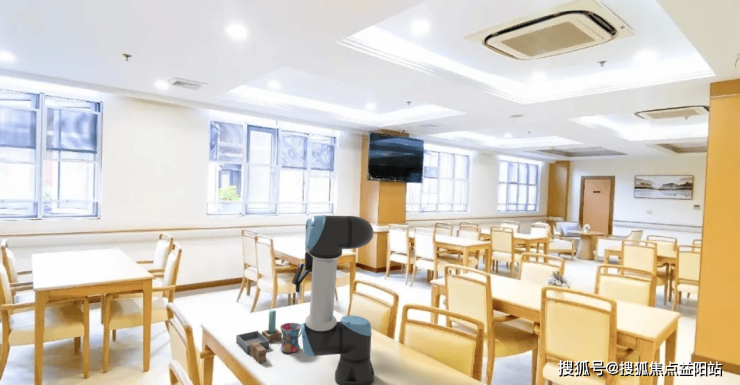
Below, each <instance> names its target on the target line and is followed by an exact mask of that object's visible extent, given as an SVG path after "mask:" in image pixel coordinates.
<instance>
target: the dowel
mask: <svg viewBox="0 0 740 385" xmlns="http://www.w3.org/2000/svg"><path fill="white" fill-rule="evenodd" d="M276 314H277V310H269V311H268V329H267V330H268V334H274V333H275V328H276V323H277V320H276V317H277V315H276Z"/></svg>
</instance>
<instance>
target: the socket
mask: <svg viewBox="0 0 740 385" xmlns="http://www.w3.org/2000/svg"><path fill="white" fill-rule="evenodd" d="M261 334H262V335H263V336H264V337H265V338H267V339H268V340H269V343H272V342H276V341H279V340H283V335H282V331H281V330H279V329H277V328H276V327H275V333H274V334H268V329H265V330H262V331H261Z"/></svg>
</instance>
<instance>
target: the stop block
mask: <svg viewBox="0 0 740 385" xmlns="http://www.w3.org/2000/svg"><path fill="white" fill-rule="evenodd" d="M249 355H250V356H251V357H252V358H253V359H254V360H255V361H256V362H257V363H258V364H261V363H265V362H266V361H267V360H266V359H267V349H265V348H264V347H263V346H262V345H261V344H260V343H258V342H257V341H256V342H252V343H250V353H249Z"/></svg>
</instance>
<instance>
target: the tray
mask: <svg viewBox="0 0 740 385" xmlns="http://www.w3.org/2000/svg"><path fill="white" fill-rule="evenodd" d="M235 338H236V341H235V343H236V344H237V345H238V347H240V348H241V349H242V351H243V352H244V353H245V354H246V355H248V354H249V355H250V343H252V342H256V341H257V342H258V343H260V344H261V345H262V346H263V347H264V348H265V349H266V350H268V349H270V342H269V340H268V339H267V338H265V337H264V336H263V335H262V332H259V330H254V331H250V332H245V333H240V334H236V337H235Z"/></svg>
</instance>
